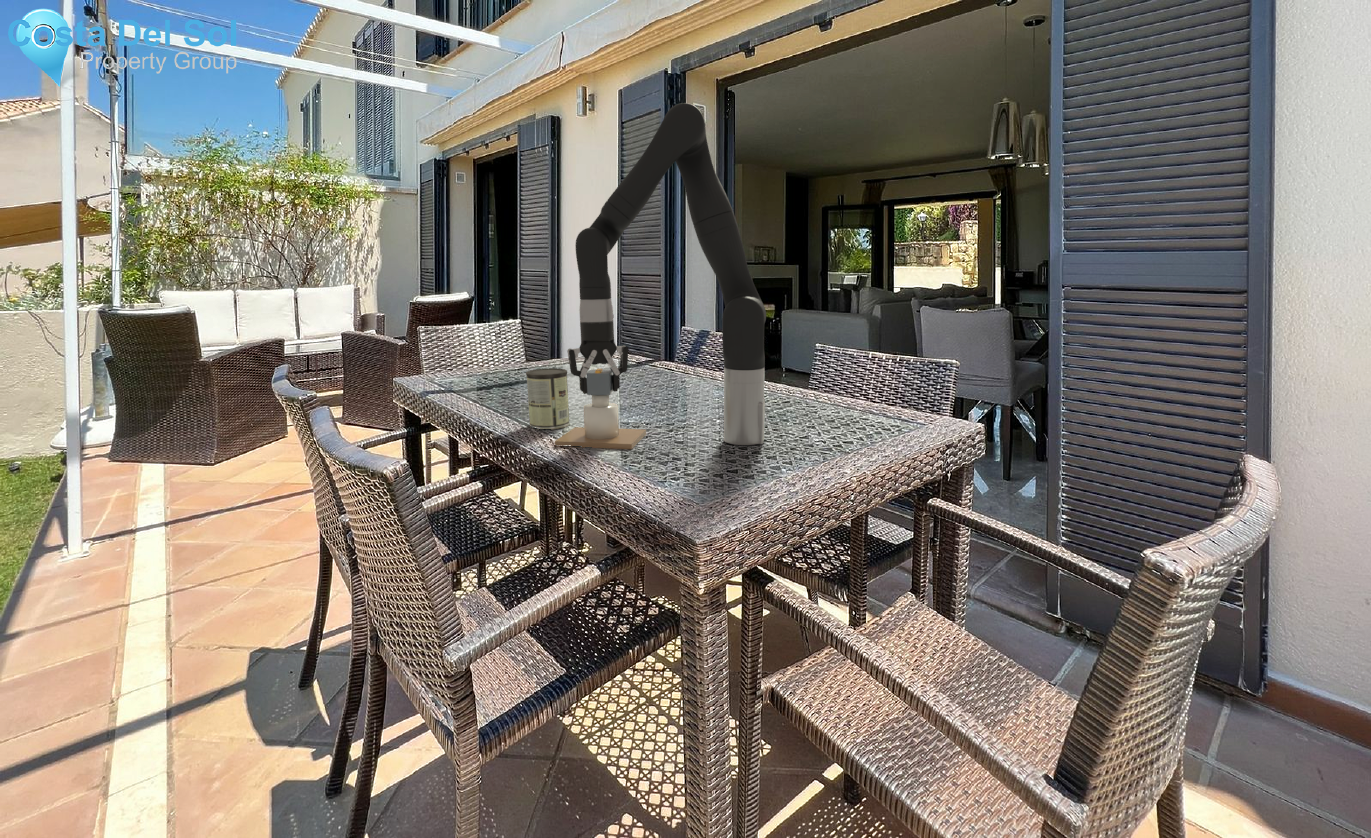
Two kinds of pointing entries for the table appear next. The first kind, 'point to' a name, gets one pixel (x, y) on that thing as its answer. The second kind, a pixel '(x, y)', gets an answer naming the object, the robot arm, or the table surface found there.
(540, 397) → the coffee can
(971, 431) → the table surface
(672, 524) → the table surface
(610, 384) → the grey cube with tab
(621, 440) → the board with white bottle
